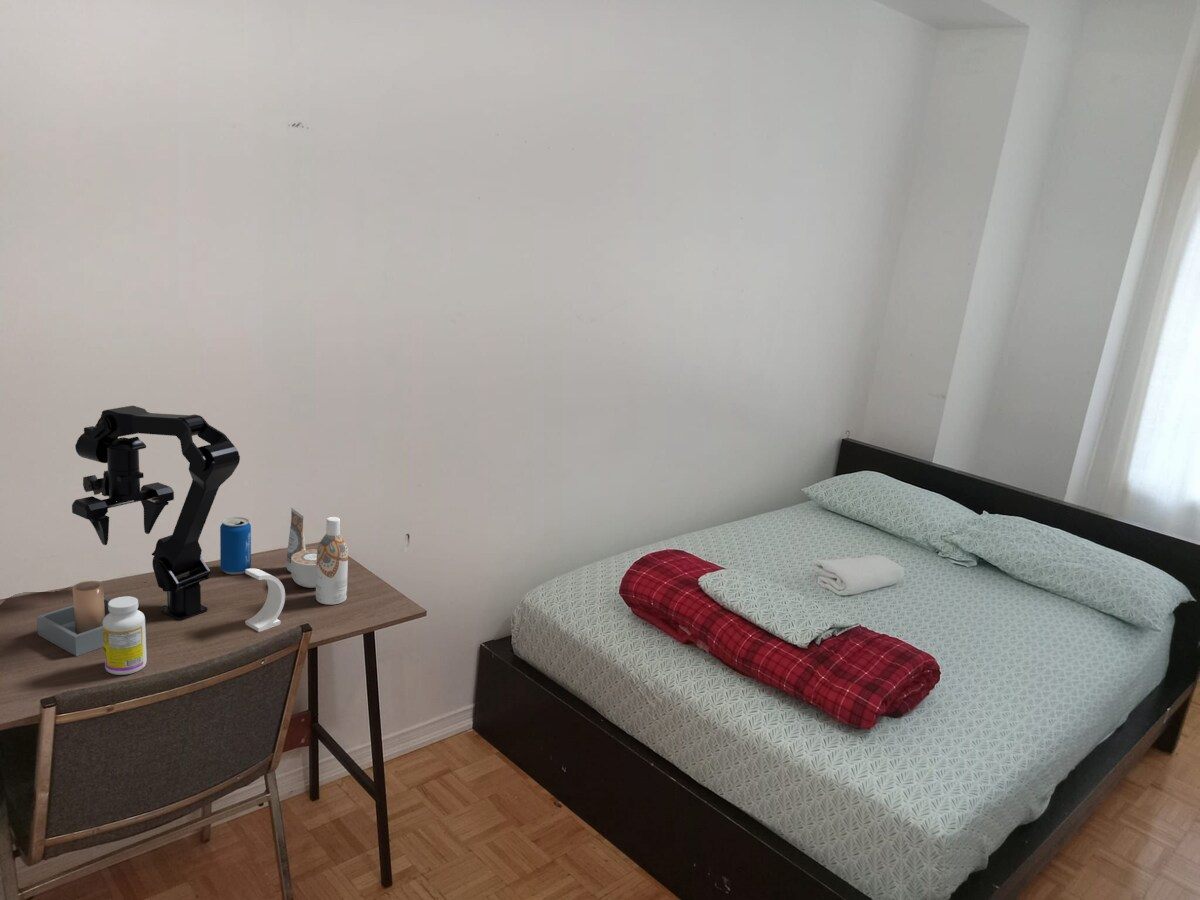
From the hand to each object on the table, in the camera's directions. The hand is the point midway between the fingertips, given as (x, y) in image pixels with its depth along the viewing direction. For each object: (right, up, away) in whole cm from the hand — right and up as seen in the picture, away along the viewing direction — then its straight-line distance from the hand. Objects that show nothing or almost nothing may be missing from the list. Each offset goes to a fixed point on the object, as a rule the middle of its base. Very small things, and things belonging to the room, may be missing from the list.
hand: (126, 538), depth 183 cm
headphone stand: (+31, -17, -4) cm, 35 cm away
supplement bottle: (+14, -21, -25) cm, 35 cm away
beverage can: (+15, -9, +19) cm, 26 cm away
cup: (+2, -16, -16) cm, 22 cm away
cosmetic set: (+34, -12, +16) cm, 39 cm away
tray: (+1, -17, -15) cm, 23 cm away
